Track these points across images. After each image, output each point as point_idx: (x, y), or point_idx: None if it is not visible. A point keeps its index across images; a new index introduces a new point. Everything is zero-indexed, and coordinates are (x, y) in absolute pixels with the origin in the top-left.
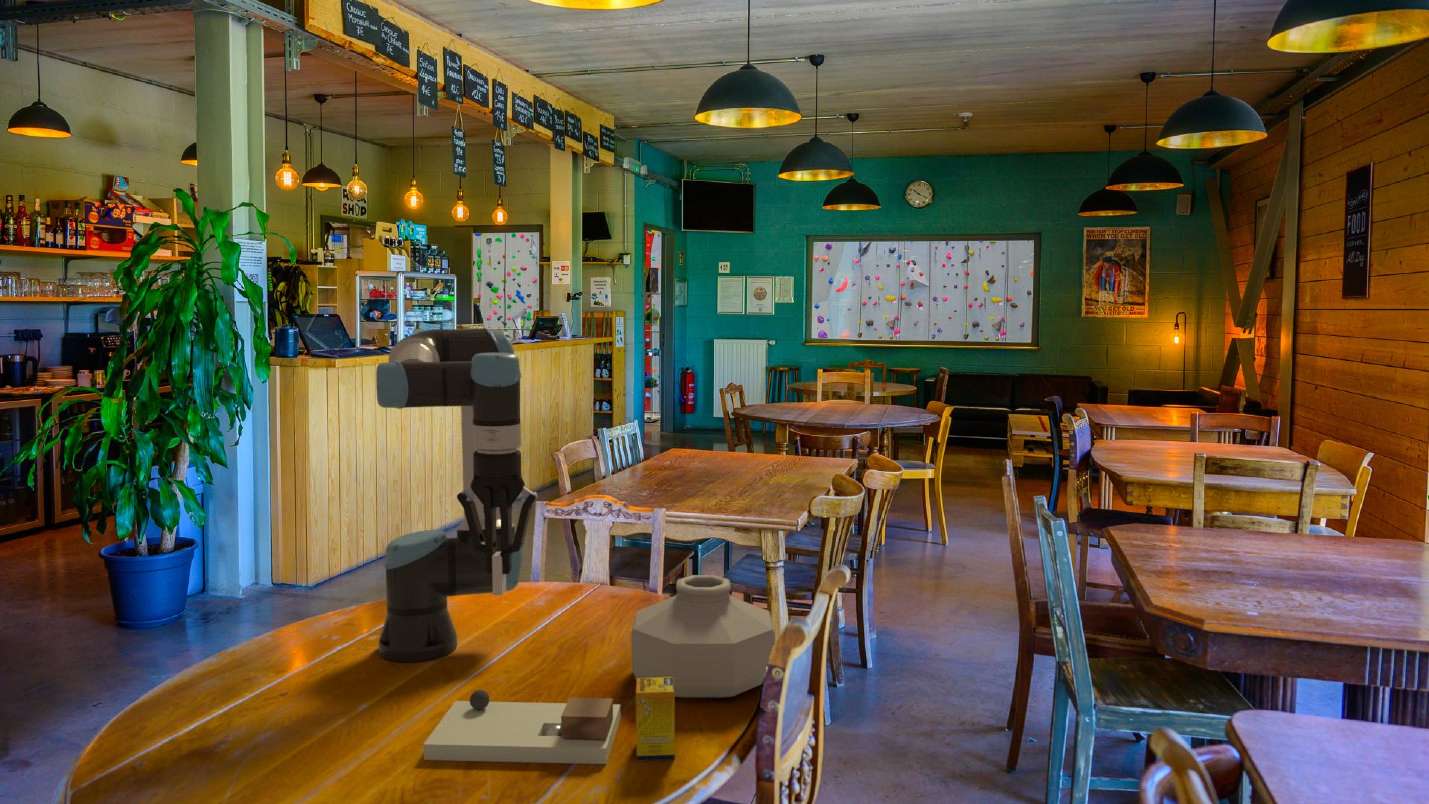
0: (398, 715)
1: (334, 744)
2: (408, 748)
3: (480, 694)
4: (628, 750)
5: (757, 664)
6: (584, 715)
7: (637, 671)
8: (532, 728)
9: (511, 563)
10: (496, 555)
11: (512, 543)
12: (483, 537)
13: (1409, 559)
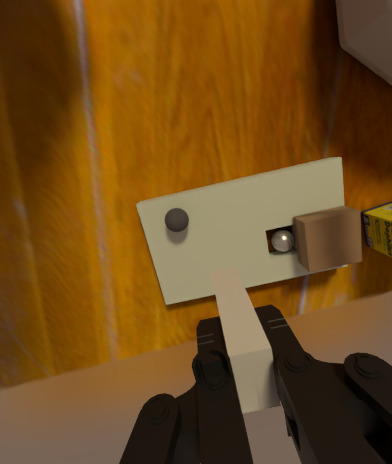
0: (77, 219)
1: (64, 292)
2: (139, 281)
3: (181, 227)
4: None
5: None
6: (335, 263)
7: (355, 50)
8: (258, 246)
9: (287, 326)
10: (255, 402)
11: (338, 396)
12: (169, 459)
13: None
